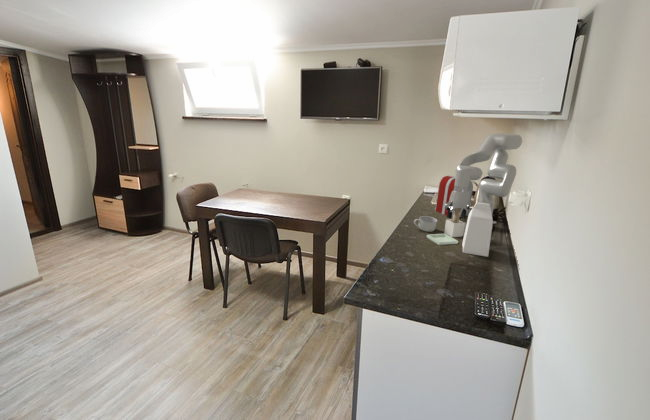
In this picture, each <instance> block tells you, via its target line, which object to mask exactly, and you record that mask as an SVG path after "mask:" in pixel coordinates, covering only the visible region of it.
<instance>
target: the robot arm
mask: <svg viewBox="0 0 650 420" xmlns="http://www.w3.org/2000/svg"><path fill="white" fill-rule="evenodd" d="M522 143H523V137H522V136H521V135H520V134H513V133H490V134H489V135H488V136H486V137H485V139H484V141H483V142H482V143H481V145H480V146H479V148H477V150H476V151H475V152H471V153H470V154H468V155H467V156H465V157H463V159H462V160H461V161H460V162H459V164H458V165H457V167H456V170H455V177H456V178H455V185H454V191H452V193H451V196H450V199H449V202H448V203H446V204H445V207H446V209H447V211H448V214H447V215H446V217H447V219H449V220H450V219H453V218H452V211H453V209H463V210H462V214H461V217H462V218H463V219H466V218H467V216H466V212H467V211H468V209H469V208H471V206H472V203H470V202H468V189H469V181H470V180H471V181H478V180H480V179H481V178H482V176H483V171H482V169H481V168H480V167H477V166H473V165H474V164H477V163H482V162H487V161H489V160H490V159H491V161H490V163H489V166H488V168H487V172H486V173H487V176H488V177H489V178H483V179H482V180H480V182H479V185H478V199H477V203H485V204H490V208H491V213H492V214H493V212H494V208H495V203H496V202H495V196H496V197H500V198H505V197H507V196H508V195H509V193H510V192H511V189H512V186H513V184H514V181H515V179H516V175H517V167H516V166H515V165H513V164H510V163H509V164H508V159H509V154H508V151H507V150H509V151H511V150H517V149H519V148H520V147H521V145H522ZM492 178H494V179H492ZM499 179H500V180H499ZM469 210H470V209H469ZM496 224H497V221H495V220H493V224H492V225H496ZM493 228H494V227H493V226H492V229H493Z"/></svg>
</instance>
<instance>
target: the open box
mask: <svg viewBox="0 0 650 420" xmlns="http://www.w3.org/2000/svg"><path fill="white" fill-rule="evenodd" d="M452 220H453V218H451V219H450V218H449V219H445V224H444V225H445V226H444V232H443V234H447V235H448V236H450V237H452V238H459V237H464V234H465V229H466V222H464V221H462V220H460V219H459V223H453V222H452Z"/></svg>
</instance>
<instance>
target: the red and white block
mask: <svg viewBox="0 0 650 420" xmlns="http://www.w3.org/2000/svg"><path fill="white" fill-rule="evenodd" d="M455 178H456V175H455V176H453V175H444V176H442V178H440V181H439V182H438V183H439V184H438V187H437V188H438V189H437V196H436V203H435V208H434V211H435V212H437V213H439V214H441V215H445V216H447V214H448V211H447V209H446V207H445V204H446V203H448V202H449V199H450V196H451V193H452V191H454V185H455ZM473 191H474V184H473V180H470V181H469V189H468V202H470V203H471V201H472V196H473ZM471 204H472V203H471ZM470 208H471V207H470ZM470 208H469V209H468V211H467V212H466V217H468V216H469V213H470ZM462 210H463V209H461V212H460V217H461V214H462ZM453 214H454V209H453V211H452V218H451V219H453Z"/></svg>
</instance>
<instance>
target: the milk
mask: <svg viewBox="0 0 650 420" xmlns="http://www.w3.org/2000/svg"><path fill="white" fill-rule="evenodd" d="M493 221H494V220H493V213H491V208H490V204H485V203H478V202H476V203H475V204H474V206H472V208H471V210H469V215H468V216H467V219H466V224H465V229H464V234H463V239H462V243H461V244H462V249H461V250H462V253H464V254H468V255H469V254H470V255H475V256H482V257H488V258H489V253H490V245H491V239H492V238H491V237H492V232H493V231H492V230H493V228H492V227H493V225H494V224H493Z"/></svg>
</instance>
